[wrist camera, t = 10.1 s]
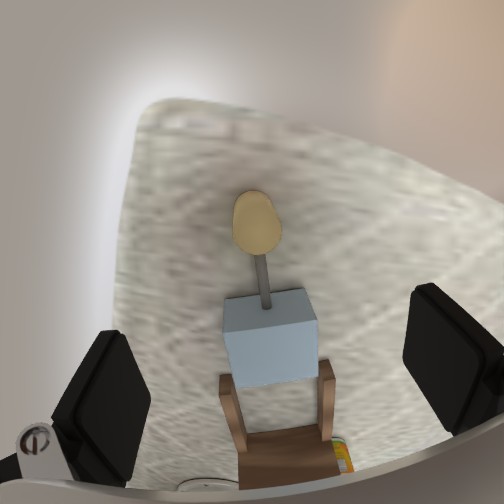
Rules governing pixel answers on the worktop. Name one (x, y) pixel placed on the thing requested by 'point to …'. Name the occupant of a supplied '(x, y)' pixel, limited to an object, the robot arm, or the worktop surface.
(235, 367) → the push plunger
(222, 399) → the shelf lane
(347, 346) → the worktop surface
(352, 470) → the supplement bottle
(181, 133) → the worktop surface
